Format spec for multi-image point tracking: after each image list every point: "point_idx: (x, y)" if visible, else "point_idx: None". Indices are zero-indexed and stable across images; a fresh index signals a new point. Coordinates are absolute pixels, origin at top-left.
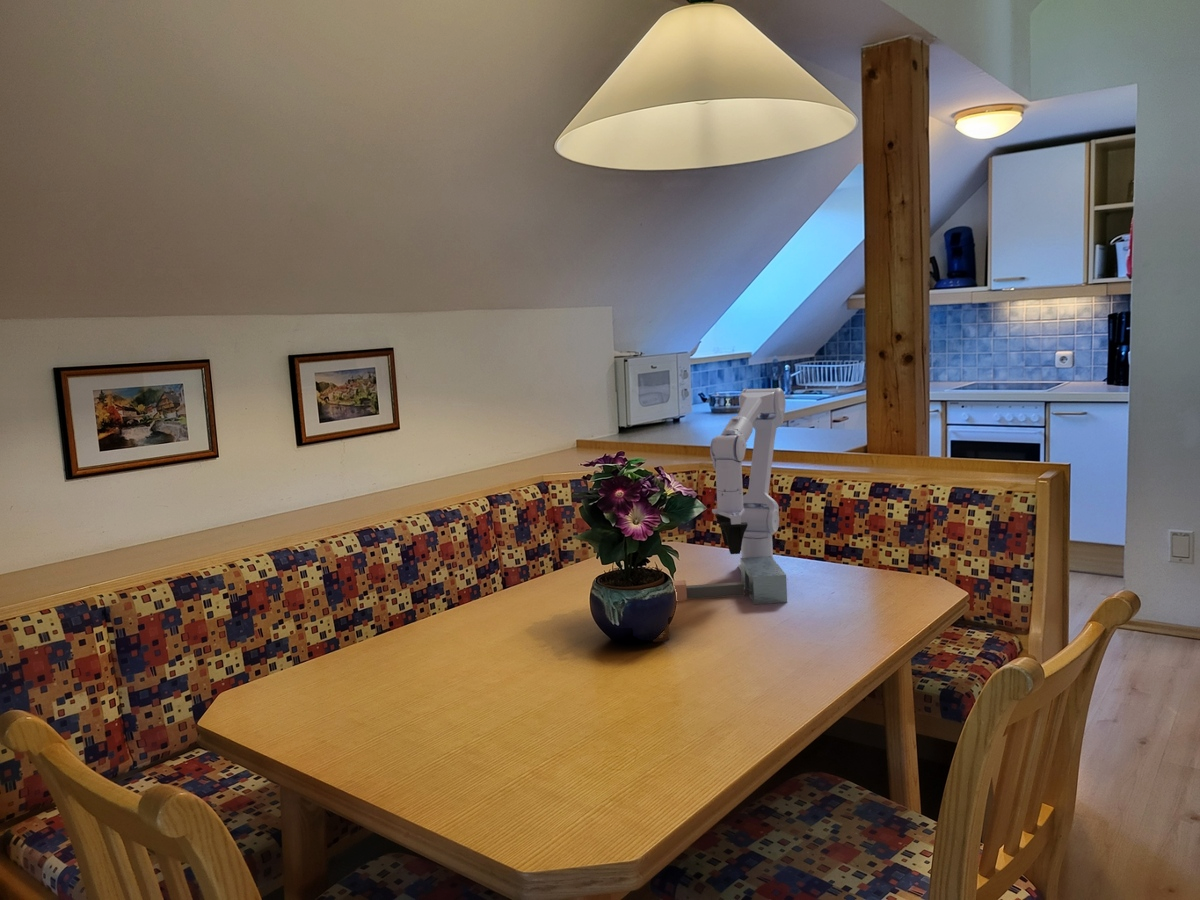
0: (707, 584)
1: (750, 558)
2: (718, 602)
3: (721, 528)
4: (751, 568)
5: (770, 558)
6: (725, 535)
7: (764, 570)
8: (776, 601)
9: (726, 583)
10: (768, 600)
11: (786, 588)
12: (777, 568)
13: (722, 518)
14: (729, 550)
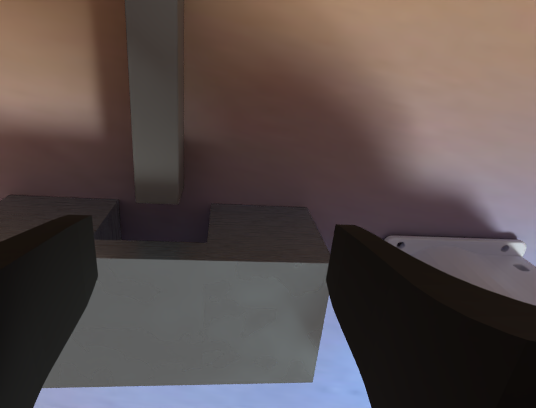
0: (171, 27)
1: (303, 303)
2: (54, 53)
3: (406, 285)
4: (108, 276)
5: (269, 374)
6: (366, 272)
7: None
8: None
9: (166, 130)
10: None
11: None
12: (86, 375)
13: (474, 401)
14: (52, 220)
